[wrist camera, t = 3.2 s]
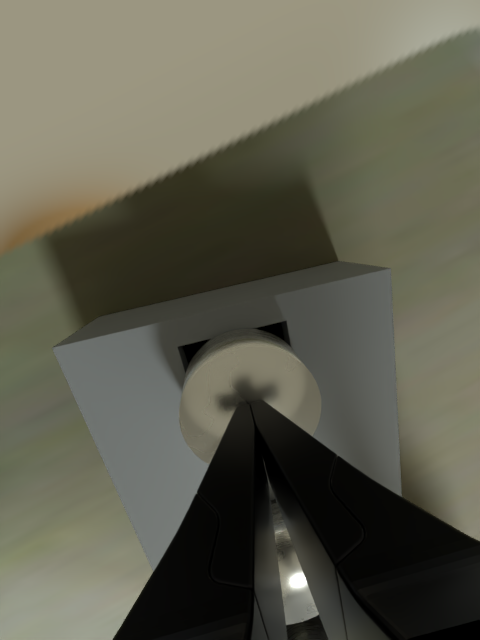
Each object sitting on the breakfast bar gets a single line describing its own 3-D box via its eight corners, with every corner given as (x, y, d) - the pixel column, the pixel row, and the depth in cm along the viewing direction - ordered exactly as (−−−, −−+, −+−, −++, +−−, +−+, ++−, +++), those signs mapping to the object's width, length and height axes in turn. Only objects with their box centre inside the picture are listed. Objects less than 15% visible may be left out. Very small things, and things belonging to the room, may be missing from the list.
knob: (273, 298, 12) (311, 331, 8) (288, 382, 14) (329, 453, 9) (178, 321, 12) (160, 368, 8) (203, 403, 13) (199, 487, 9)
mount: (339, 261, 13) (390, 268, 10) (370, 561, 20) (408, 637, 16) (98, 316, 13) (51, 347, 9) (209, 606, 19) (210, 696, 15)
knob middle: (299, 441, 15) (341, 532, 10) (310, 501, 16) (351, 607, 11) (219, 462, 14) (224, 564, 10) (237, 521, 16) (249, 637, 11)
